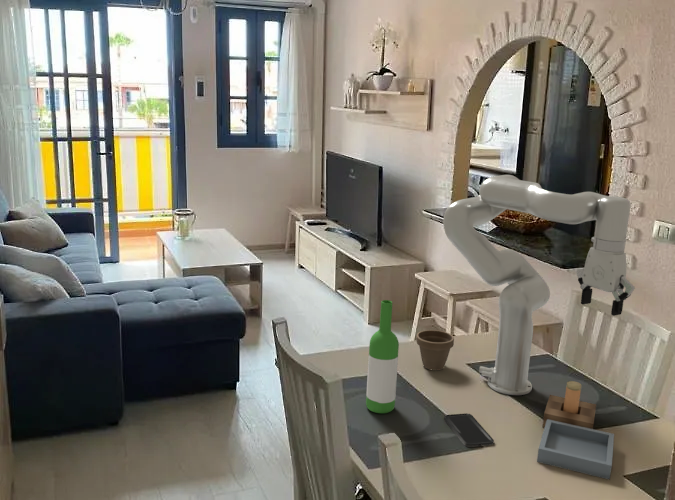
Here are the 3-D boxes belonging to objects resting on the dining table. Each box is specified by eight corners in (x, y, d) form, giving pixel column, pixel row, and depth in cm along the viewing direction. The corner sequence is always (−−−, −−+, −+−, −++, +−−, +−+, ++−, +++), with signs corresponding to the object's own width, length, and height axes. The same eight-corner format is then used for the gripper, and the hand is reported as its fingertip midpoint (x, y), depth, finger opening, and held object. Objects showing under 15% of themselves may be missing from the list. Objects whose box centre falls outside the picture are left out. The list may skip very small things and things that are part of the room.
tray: (536, 461, 161) (538, 448, 161) (545, 431, 176) (547, 419, 175) (609, 479, 155) (611, 465, 155) (612, 446, 170) (614, 433, 169)
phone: (470, 413, 182) (495, 441, 168) (469, 417, 183) (495, 446, 168) (442, 415, 180) (465, 444, 166) (442, 419, 181) (465, 448, 167)
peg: (561, 424, 180) (566, 385, 177) (562, 418, 183) (567, 380, 181) (575, 427, 179) (580, 388, 176) (576, 421, 182) (582, 382, 179)
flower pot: (406, 363, 214) (408, 333, 212) (432, 356, 221) (435, 326, 218) (432, 377, 205) (435, 345, 203) (459, 369, 212) (462, 338, 209)
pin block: (542, 427, 178) (544, 413, 177) (548, 408, 189) (549, 394, 188) (591, 438, 173) (593, 423, 172) (594, 418, 184) (596, 404, 183)
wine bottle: (373, 398, 189) (379, 295, 182) (399, 406, 186) (406, 300, 179) (360, 410, 183) (366, 302, 175) (387, 417, 179) (394, 308, 172)
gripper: (572, 239, 181) (564, 301, 185) (628, 254, 166) (618, 321, 170) (591, 237, 184) (584, 298, 189) (648, 251, 170) (638, 317, 174)
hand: (600, 309), depth 179 cm, fingers open, 9 cm apart
